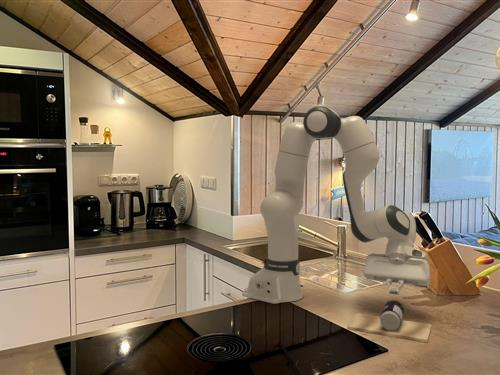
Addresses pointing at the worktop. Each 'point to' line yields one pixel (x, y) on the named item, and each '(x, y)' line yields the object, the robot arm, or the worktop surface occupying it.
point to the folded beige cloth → (403, 331)
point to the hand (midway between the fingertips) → (393, 293)
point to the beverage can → (392, 315)
